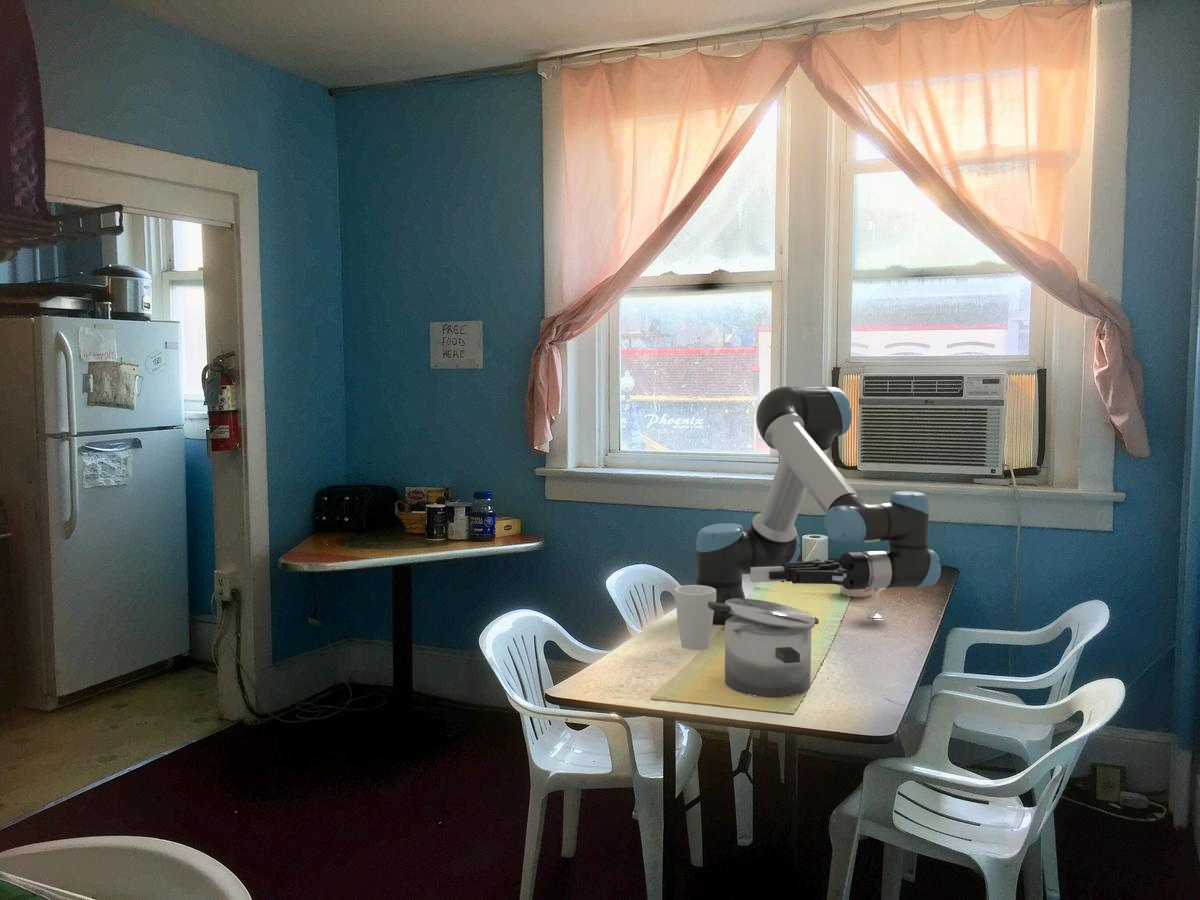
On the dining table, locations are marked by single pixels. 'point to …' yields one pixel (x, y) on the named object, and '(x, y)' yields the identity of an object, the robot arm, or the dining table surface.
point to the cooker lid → (766, 613)
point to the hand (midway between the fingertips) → (751, 574)
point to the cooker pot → (766, 659)
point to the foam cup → (694, 615)
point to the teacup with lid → (856, 592)
